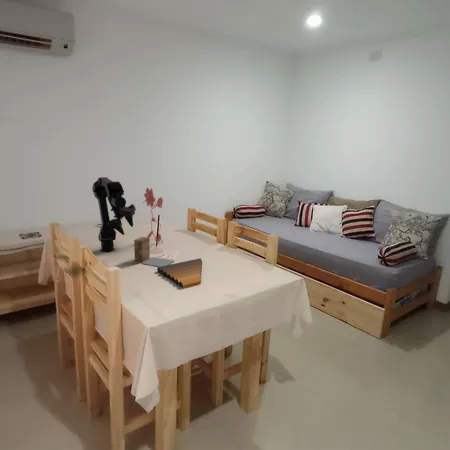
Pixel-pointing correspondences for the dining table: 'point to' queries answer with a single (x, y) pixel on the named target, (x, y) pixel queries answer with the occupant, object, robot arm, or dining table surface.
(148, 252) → the walnut block
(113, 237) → the robot arm
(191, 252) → the dining table surface
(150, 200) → the red flower sculpture
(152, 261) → the felt mat
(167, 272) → the pan flute
